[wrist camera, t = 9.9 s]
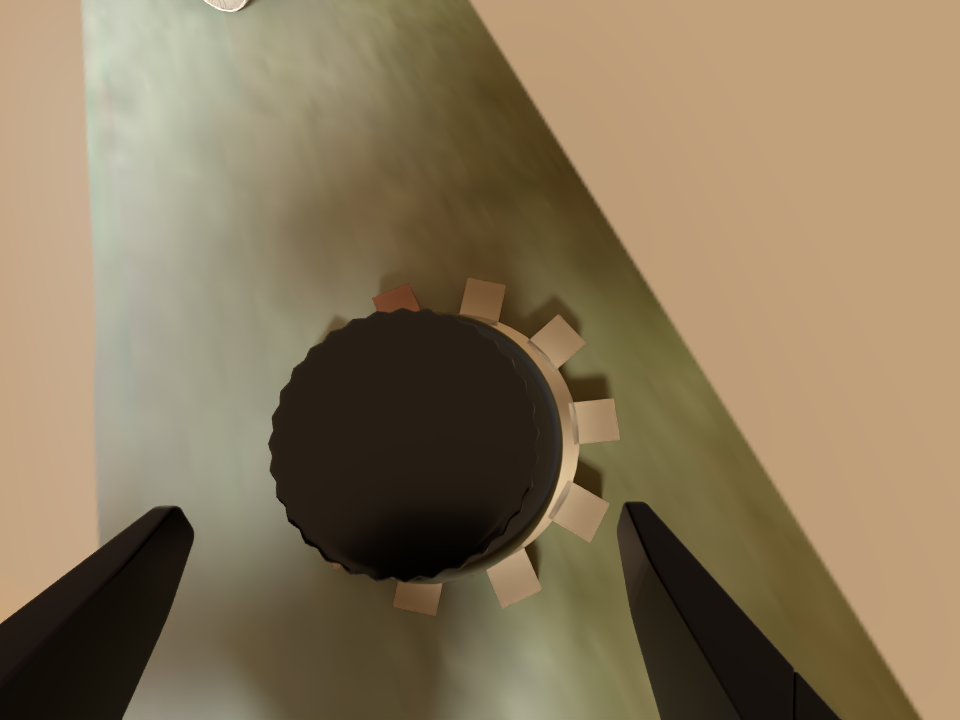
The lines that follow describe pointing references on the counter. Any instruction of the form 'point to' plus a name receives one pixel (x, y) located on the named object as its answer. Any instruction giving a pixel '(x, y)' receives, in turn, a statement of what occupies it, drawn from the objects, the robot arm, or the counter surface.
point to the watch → (227, 4)
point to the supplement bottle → (416, 446)
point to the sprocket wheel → (578, 427)
